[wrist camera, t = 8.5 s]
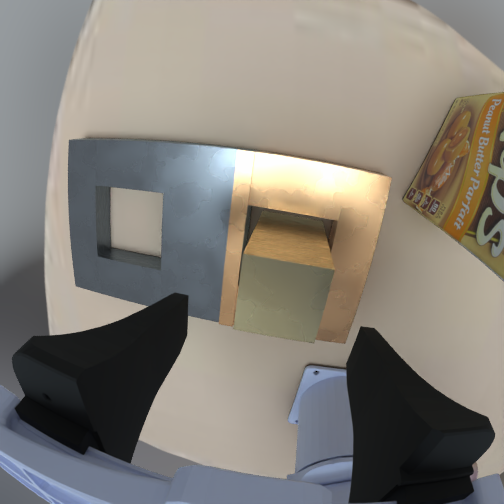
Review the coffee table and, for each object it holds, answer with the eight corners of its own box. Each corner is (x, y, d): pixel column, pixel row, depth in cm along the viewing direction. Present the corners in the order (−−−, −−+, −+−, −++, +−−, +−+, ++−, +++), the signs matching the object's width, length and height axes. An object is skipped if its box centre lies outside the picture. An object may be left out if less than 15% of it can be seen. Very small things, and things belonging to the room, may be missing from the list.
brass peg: (322, 220, 20) (335, 269, 13) (310, 274, 22) (314, 343, 15) (263, 210, 21) (243, 253, 13) (255, 264, 22) (233, 329, 15)
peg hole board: (383, 173, 19) (392, 178, 17) (342, 328, 23) (345, 345, 21) (84, 138, 21) (67, 140, 18) (88, 276, 25) (74, 287, 23)
